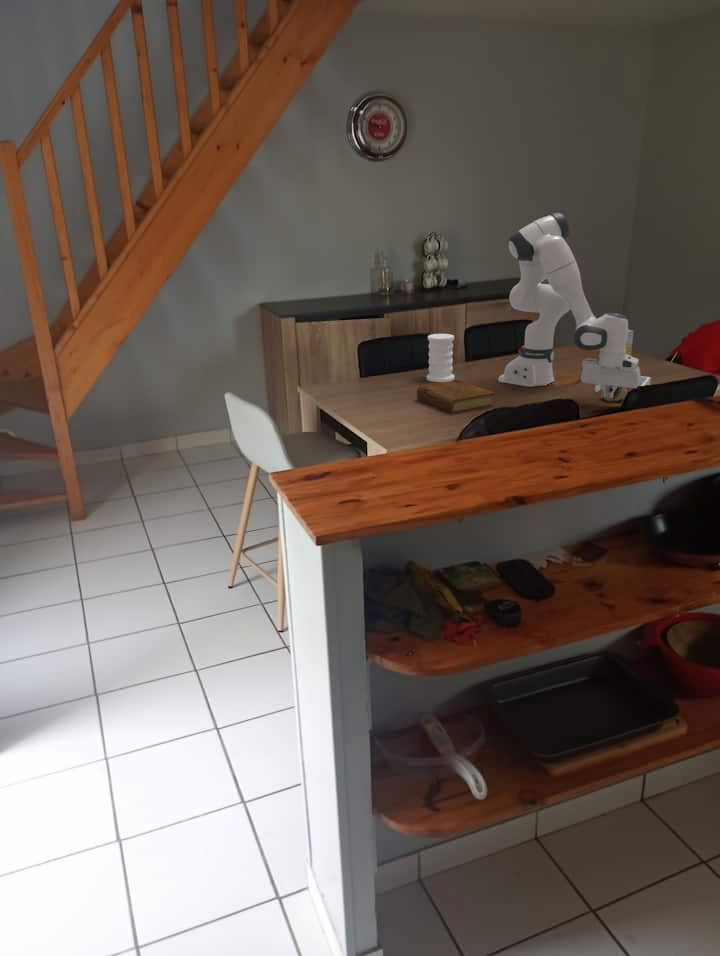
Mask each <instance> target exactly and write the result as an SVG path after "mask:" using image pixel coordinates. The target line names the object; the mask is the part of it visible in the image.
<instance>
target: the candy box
mask: <svg viewBox="0 0 720 956" xmlns="http://www.w3.org/2000/svg"><path fill="white" fill-rule="evenodd" d="M633 339H634V330H633V329H630V328H628V338H627V342H626V354H627V355H629V356H632V349H633V342H634V340H633Z"/></svg>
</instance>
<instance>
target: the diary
mask: <svg viewBox="0 0 720 956" xmlns="http://www.w3.org/2000/svg"><path fill="white" fill-rule="evenodd" d="M494 394H495V392H493V391H492V390H491V391H490V390H487V389H485V388H482V387H479V386H477V385H473V384H470V383H468V382H464V381H462V380H459V379H454V380H452V381H448V382H435V383H430V384H426V385H420V386H418V387H417V388H416V399H417V400H418V401H421V402H422V403H425V404H428V405H430V406H432V407H433V408H434V407H435V408H437V409H439V410H442V411H444V412H446V413H449V414H451V415H454V414H460V413H465V412H469V411H474V410H479V409H484V408H488V407H489V408H491V407H493V406H494V404H492V396H494Z"/></svg>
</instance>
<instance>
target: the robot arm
mask: <svg viewBox="0 0 720 956" xmlns="http://www.w3.org/2000/svg"><path fill="white" fill-rule="evenodd" d="M570 232H571V226H570V225H569V222H568V220H567V217H566V216H565V215H564V214H563V213H561V212H553V213H549V214H548V215H546V216H544V217H541V218H538V219H536V220H534V221H532V222H531V223H529V224H527V225H526V226H523V228H521V229H519V230H516V231H515V232H513V233H512V234H511V235H510V236H509V238H508V240H507V244H508V249H509V252H510V255H512V257H513V259H515V260H517V261H518V264H519V271H520V280H519V282H517V284H515V285H514V286H513V287H512V289H511V290H510V292H509V302H510V305H511V308H513V309H514V310H517V311H521V312H527V313H528V312H529V313H539V318H538V320H534V321H532V322H531V323H529V324H528V325H527V326H526V329H525V330H524V331H525V333H524V345H522V346H521V347H520V348H519V350H518V353H519V355H518V356H516V358H514V359H513V360H511V361H510V362H509V363H507V365H506V366H505V368H504V373H503V374H501V375H499V377H498V379H497V380H498V382H499V383H504V384H510V385H516V386H521V387H522V386H523V387H529V388H531V387H539V386H548V385H547V384H549V383H551V382H553V381H555V377H554V370H553V360H554V355H555V353H554V352H555V351H554V350H555V349H554V348H555V347H554V335H555V331H556V329H555V328H556V327H557V324H558V322H559V321H560V319H561V318H562V317H563V316H564V315H565V314H567V313H568V312H570V311H571V313H572V315H573V317H574V320H575V324H576V325H575V330H574V333H573V343H574V345H575V346H576V347H577V348H578V349H580V350H582V351H593V350H599V358H598V357H586V358H584V359H583V360H582V361H581V362H582V363H581V367H582V371H581V375H580V381H581V382H582V383H583V384H588V385H595V384H597V385H602V390H603V392H604V397H607V398H613V393H614V392H615V390H616V389H617V387H626V389H627V388H628V389H638V388H637V387H638V386H639V385H640V376H641V369H640V367H639V366H638V365H639V364H640V360H639V358H636V357H633V356H632V355H631V356H629V355H627V354H626V342H627V338H628V329H629V321H628V320H629V319H627V316H625V315H623V314H621V313H619V312H618V313H617V312H607V313H605V314H604V315H602V316H600V317H597V316H596V315H595V313H593V310H592V309H591V307H590V303H589V301H588V299H587V298H586V297H587V296H586V294H585V293H584V289H583V283H582V278H581V273H580V269H579V266H578V263H577V260H576V258H575V256H574V254H573V252H572V250H571V248H570V246H569V244H568V243H567V242H566V239H567V238H569V236H570ZM545 280H547V282H548V283H543V282H544V281H545ZM549 385H550V384H549ZM607 386H612V389H613V391H612V392H607V390H606V387H607Z"/></svg>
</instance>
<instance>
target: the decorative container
mask: <svg viewBox="0 0 720 956" xmlns="http://www.w3.org/2000/svg"><path fill="white" fill-rule="evenodd" d="M427 340H428V341H429V343H428V349H429V350H428V356H429V359H428V364H429V365H428V372H429V373H428V374H427V375H426V380H427V381H429V382H433V383H442V382H448V381H453V380H455V374H453V371H454V370H453V362H454V359H453V355H454V353H453V352H454V351H453V348H454V343H453V341H454V340H455V335H453V334H449V333H433V334H429V335H428V336H427Z"/></svg>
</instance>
